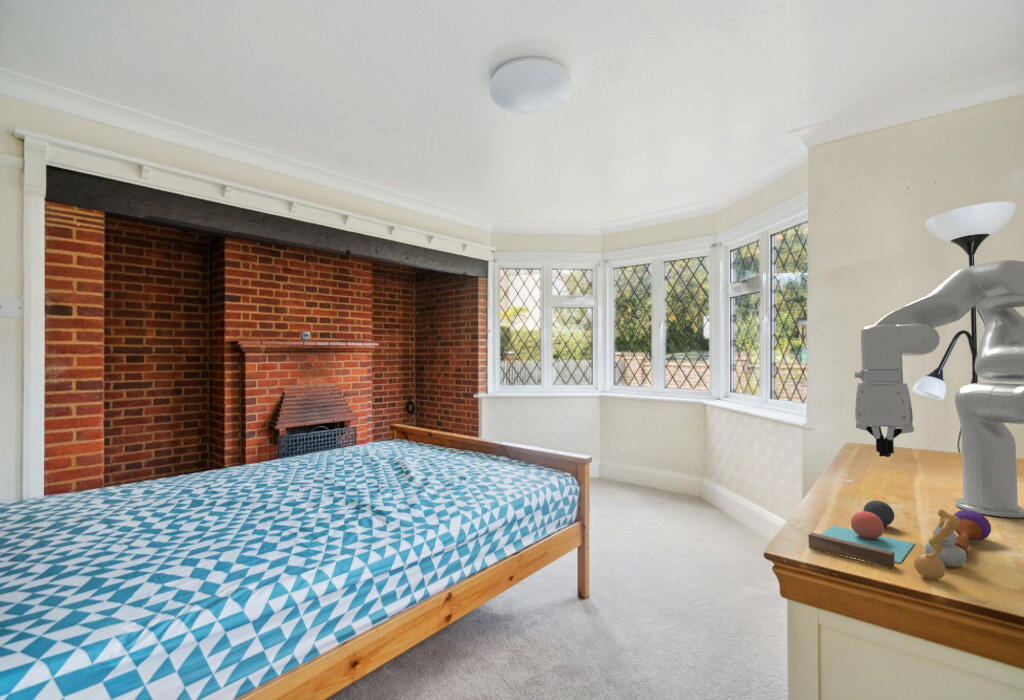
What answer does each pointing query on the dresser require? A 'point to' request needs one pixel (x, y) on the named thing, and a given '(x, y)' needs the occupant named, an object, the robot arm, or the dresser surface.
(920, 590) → the dresser surface
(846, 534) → the teal mark
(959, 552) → the gray statuette
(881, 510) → the dark gray ball
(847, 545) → the walnut rail
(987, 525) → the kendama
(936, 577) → the figurine
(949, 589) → the dresser surface
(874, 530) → the red ball
